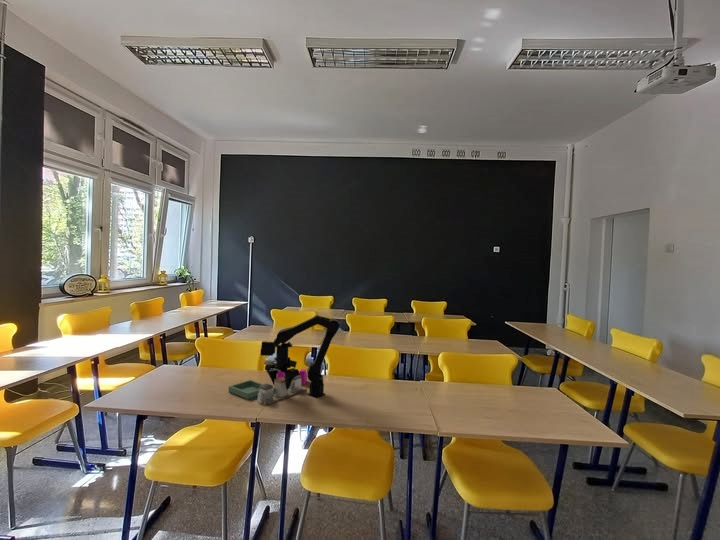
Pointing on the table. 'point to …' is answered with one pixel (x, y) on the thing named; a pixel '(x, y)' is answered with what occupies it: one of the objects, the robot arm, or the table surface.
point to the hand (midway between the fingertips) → (281, 387)
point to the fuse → (280, 386)
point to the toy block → (301, 373)
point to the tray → (245, 389)
